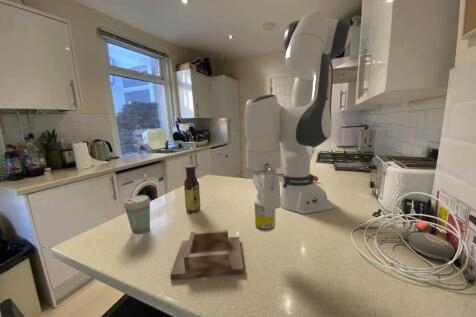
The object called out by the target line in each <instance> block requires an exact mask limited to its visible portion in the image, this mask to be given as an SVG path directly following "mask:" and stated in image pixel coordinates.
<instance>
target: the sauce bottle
mask: <svg viewBox="0 0 476 317" xmlns="http://www.w3.org/2000/svg"><path fill="white" fill-rule="evenodd" d="M185 174H186V176H185V177H186V178H185V179H184V182H183V185H184V189H183V190H184V201H185V202H184V203H185V209H186V210H185V211H186V213H187V214H190V215H191V214H198V213H199V212H200V211H201V193H200V183H199V181H198V178H197V175H196V165H193V164H191V165H186V166H185Z"/></svg>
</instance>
